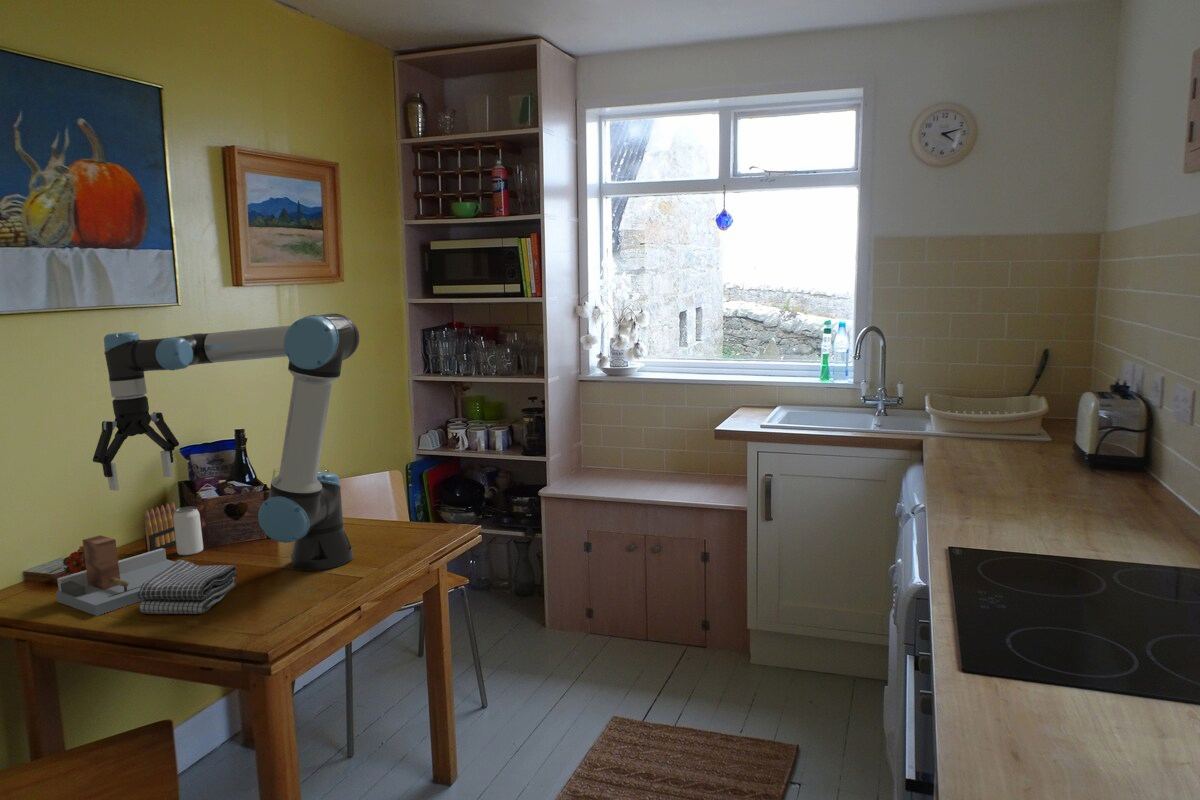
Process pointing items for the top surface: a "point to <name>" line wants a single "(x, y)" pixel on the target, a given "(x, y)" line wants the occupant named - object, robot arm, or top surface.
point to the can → (188, 531)
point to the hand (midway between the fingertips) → (142, 483)
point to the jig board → (103, 601)
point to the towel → (186, 588)
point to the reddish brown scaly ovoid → (75, 562)
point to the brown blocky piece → (102, 563)
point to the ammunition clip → (160, 528)
